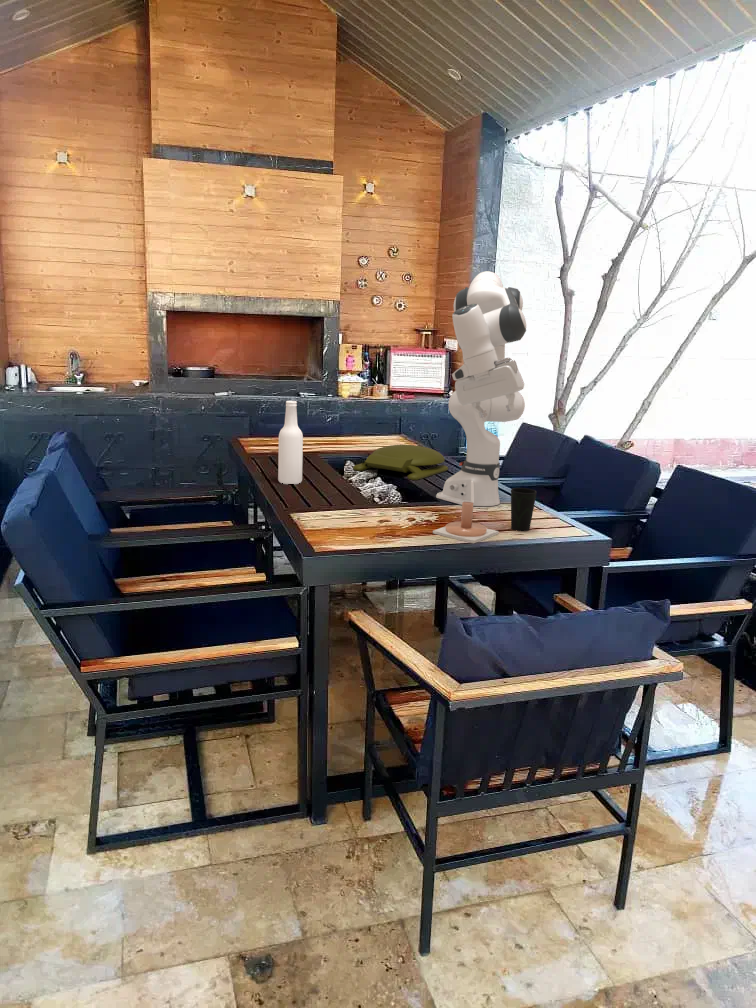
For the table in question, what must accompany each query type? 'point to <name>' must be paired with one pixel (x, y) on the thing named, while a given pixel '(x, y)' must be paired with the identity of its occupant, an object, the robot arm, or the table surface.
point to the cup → (522, 508)
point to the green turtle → (405, 460)
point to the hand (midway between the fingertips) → (497, 414)
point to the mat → (443, 532)
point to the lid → (466, 524)
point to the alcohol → (290, 448)
